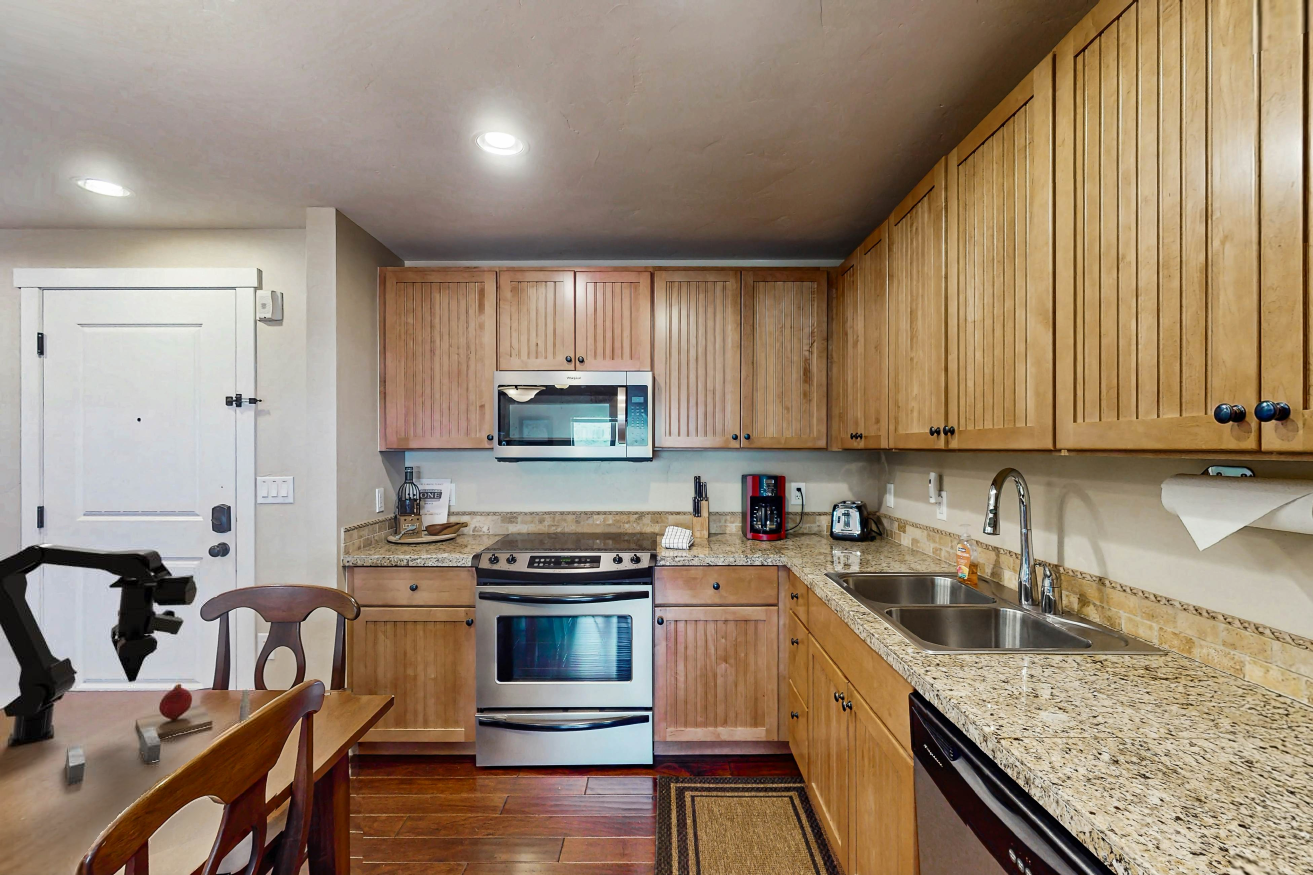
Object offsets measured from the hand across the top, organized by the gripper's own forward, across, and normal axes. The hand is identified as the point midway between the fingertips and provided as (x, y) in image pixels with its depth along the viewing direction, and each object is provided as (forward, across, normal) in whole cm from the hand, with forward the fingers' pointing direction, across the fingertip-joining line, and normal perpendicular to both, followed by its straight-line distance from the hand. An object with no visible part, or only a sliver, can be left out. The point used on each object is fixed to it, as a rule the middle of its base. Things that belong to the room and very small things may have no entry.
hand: (129, 675), depth 128 cm
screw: (+12, -28, -16) cm, 34 cm away
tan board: (+12, -5, -8) cm, 15 cm away
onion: (+11, -5, -8) cm, 14 cm away
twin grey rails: (+12, -17, +3) cm, 21 cm away
